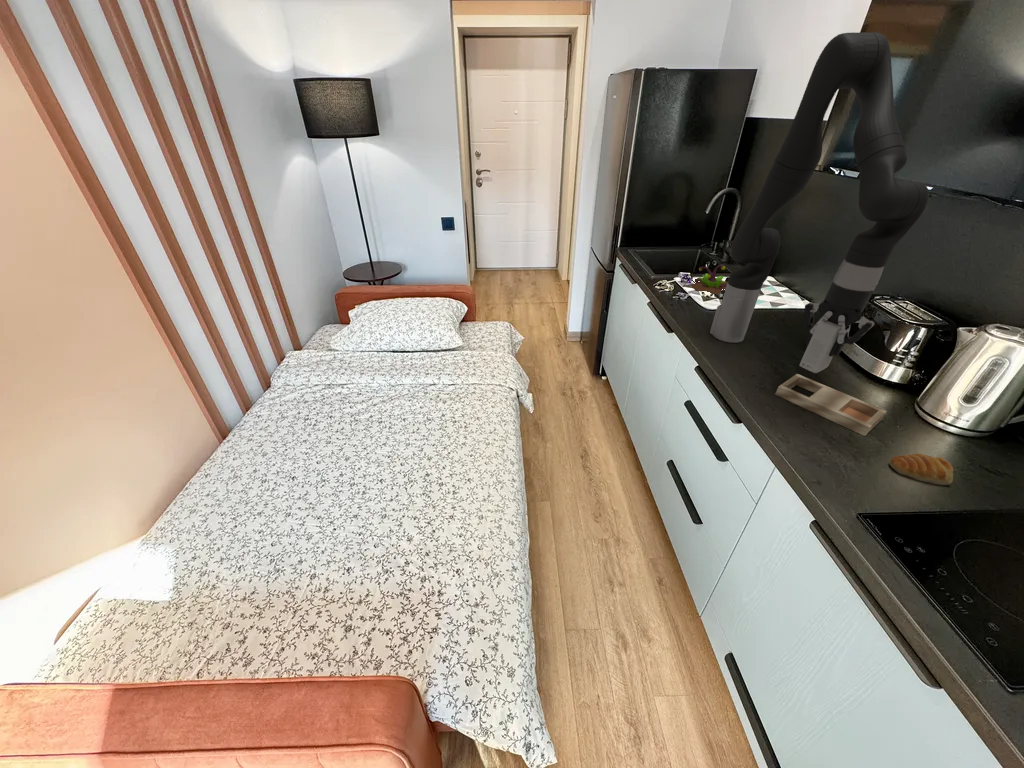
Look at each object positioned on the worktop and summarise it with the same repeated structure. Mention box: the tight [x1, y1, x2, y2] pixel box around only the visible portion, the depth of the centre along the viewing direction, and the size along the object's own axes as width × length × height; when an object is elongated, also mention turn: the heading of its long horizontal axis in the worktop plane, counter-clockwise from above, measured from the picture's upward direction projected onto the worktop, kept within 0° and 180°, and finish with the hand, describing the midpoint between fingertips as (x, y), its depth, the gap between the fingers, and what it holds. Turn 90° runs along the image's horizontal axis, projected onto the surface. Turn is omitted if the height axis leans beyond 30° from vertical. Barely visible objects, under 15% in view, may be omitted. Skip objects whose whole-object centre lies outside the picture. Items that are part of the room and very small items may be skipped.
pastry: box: [888, 453, 954, 486], centre depth 84 cm, size 9×7×4 cm
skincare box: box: [799, 320, 840, 374], centre depth 99 cm, size 6×4×12 cm
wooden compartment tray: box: [774, 373, 888, 437], centre depth 103 cm, size 20×10×2 cm, turn 36°
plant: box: [691, 264, 728, 294], centre depth 163 cm, size 20×20×11 cm
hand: (820, 350), depth 100 cm, fingers closed on skincare box, 4 cm apart
